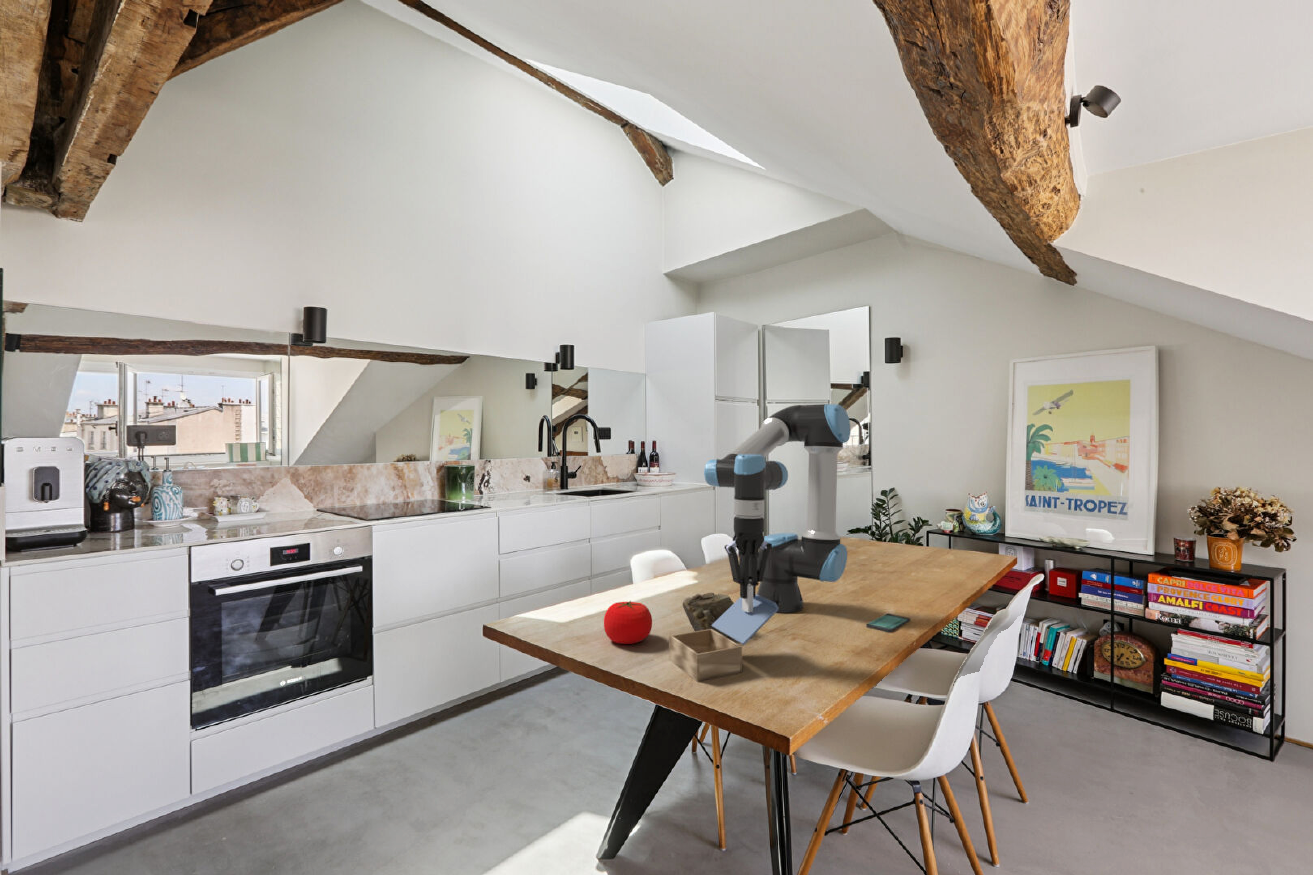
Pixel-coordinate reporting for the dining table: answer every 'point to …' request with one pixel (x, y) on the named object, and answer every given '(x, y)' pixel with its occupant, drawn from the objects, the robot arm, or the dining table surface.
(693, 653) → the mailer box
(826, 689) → the dining table surface
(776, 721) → the dining table surface
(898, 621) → the smartphone
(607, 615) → the tomato
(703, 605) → the stone
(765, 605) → the lid
